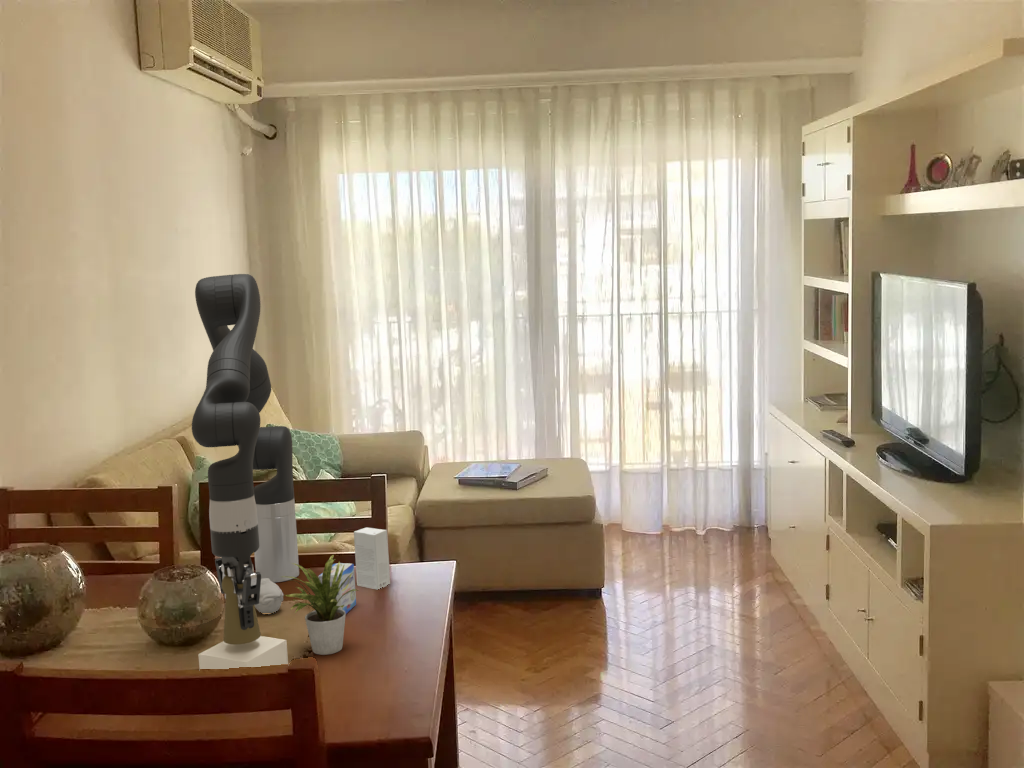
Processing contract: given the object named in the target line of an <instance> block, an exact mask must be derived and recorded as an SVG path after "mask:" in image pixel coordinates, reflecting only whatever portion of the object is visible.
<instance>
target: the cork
mask: <svg viewBox="0 0 1024 768" xmlns="http://www.w3.org/2000/svg"><path fill="white" fill-rule="evenodd" d="M237 586H238V588H239V589H242V588H243V584H238V583H237ZM233 588H234V587H233V585H232V581H231V579H230V578H229V576H228V575H226V576H224V578H223V580H222V589H223V592H224V595H225V594H226V599H225V604H224V605H225V606H224V625H223V641H224V642H225V643H227V644H245V643H249V642H252V641H255V640H257V639H258V638H259V637H260V636H262V634H261V630H260V624H259V620H258V615H257V612H256V611H257V609H256V608H255V605H253V615H254V627H253V628H250V629H249V627H248V628H247V629H246V630H242V629H241V626H240V618H239V610H238V608H239V607H238V602H237V596H236V595H235V594H234V593H233ZM242 595H243V593H242ZM248 599H249V597H248ZM223 641H222V642H223Z"/></svg>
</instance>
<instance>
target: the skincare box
mask: <svg viewBox="0 0 1024 768" xmlns="http://www.w3.org/2000/svg"><path fill="white" fill-rule="evenodd" d="M353 543H354V556H355V558H354V559H355V572H356V586H358V587H363V588H367V589H372V590H376V591H377V590H378V589H379V590H381V589H383V588H385V587H388V586H389V585H388V584H390V585H391V573H390V557H389V544H388V543H389V539H388V529H381V528H374V527H364V528H360V529H358V530H355V531H353ZM387 585H388V586H387ZM382 587H383V588H382ZM380 588H381V589H380Z"/></svg>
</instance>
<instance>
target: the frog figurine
mask: <svg viewBox="0 0 1024 768" xmlns="http://www.w3.org/2000/svg"><path fill="white" fill-rule="evenodd" d="M284 595H285V594H284V592H283V591H282V589H281V588H280V586H279V585H278V584H276V582H272V581H270V579H269V578H263V579H261V585H260V598H259V604H257V605H255V610H256V611H258V612H259V613H260V612H261V613H273V612H275V613H277V612H278V611H279V609H280V608H281V605H282V602H284V597H285V596H284ZM276 611H277V612H276ZM261 613H260V614H261ZM273 614H274V613H273Z"/></svg>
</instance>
